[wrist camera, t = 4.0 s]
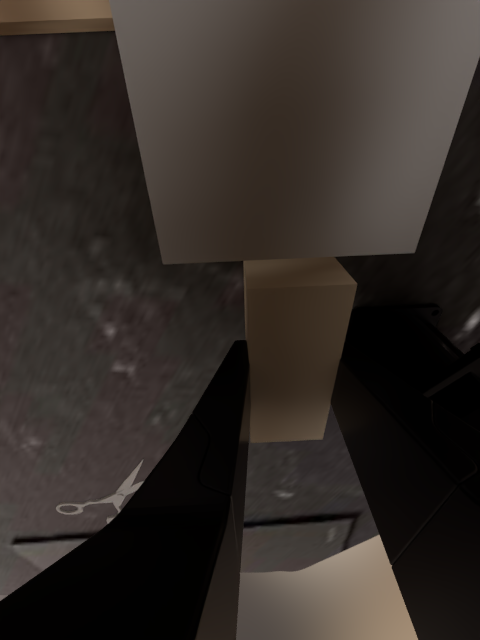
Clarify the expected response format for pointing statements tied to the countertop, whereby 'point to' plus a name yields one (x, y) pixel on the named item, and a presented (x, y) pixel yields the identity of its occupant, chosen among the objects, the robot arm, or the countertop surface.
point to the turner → (294, 158)
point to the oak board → (54, 16)
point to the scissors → (114, 497)
